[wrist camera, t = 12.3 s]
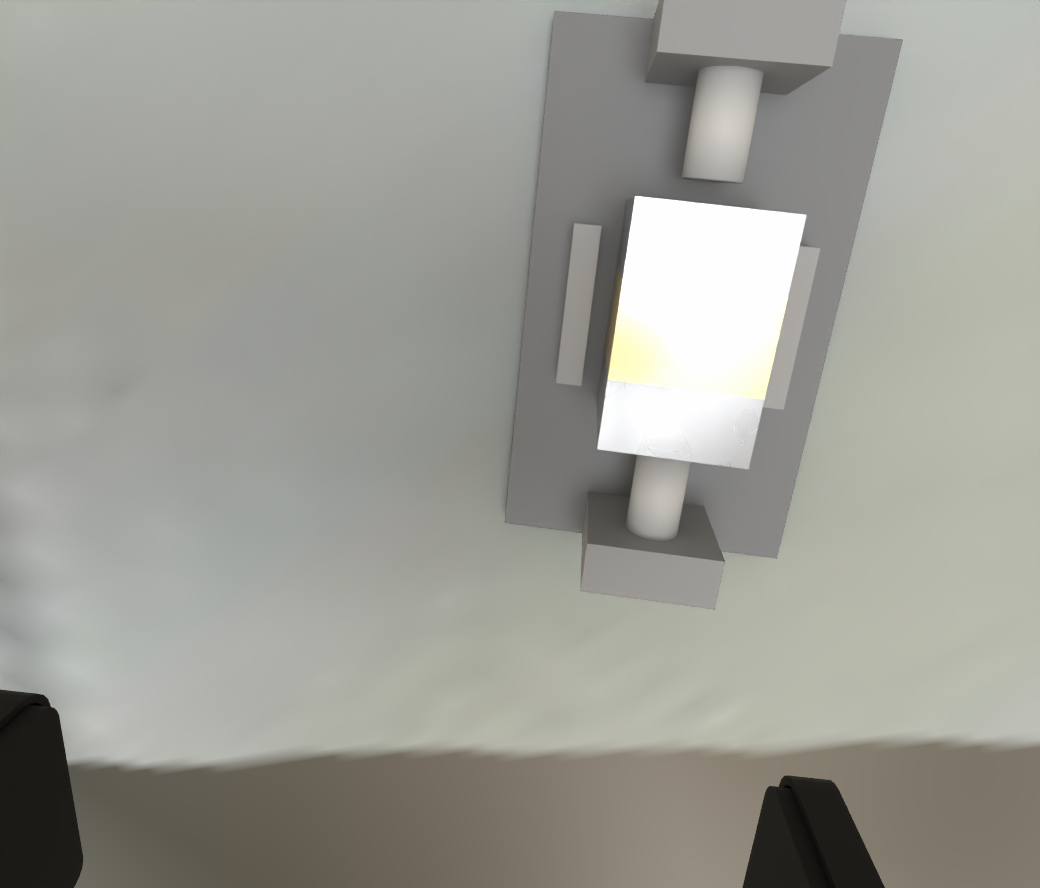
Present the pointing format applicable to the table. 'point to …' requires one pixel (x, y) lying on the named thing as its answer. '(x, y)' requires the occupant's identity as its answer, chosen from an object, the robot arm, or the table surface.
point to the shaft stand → (700, 179)
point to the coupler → (694, 329)
